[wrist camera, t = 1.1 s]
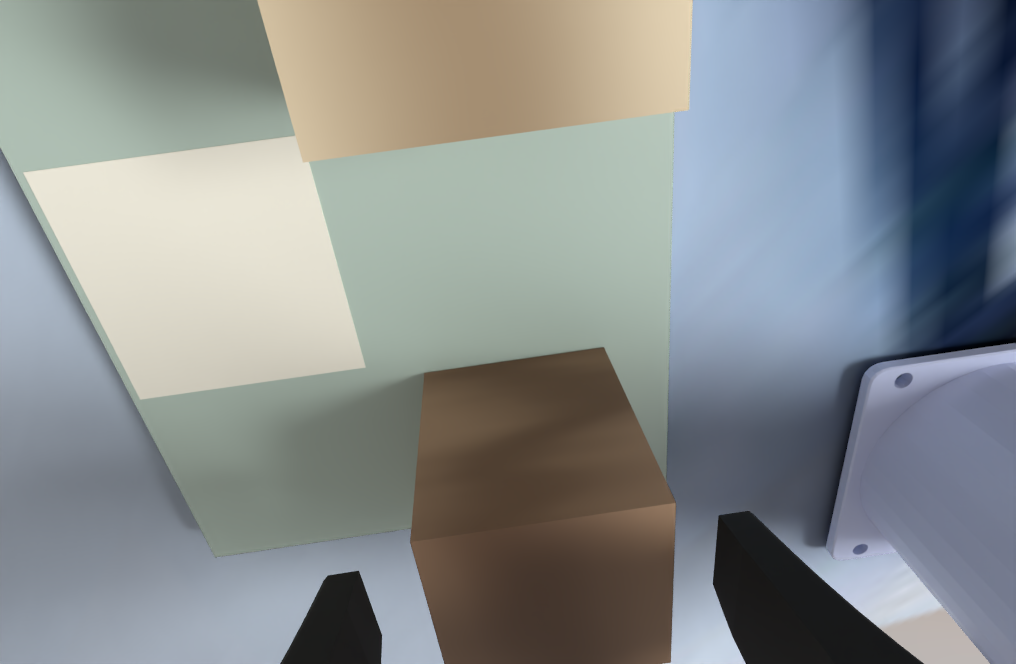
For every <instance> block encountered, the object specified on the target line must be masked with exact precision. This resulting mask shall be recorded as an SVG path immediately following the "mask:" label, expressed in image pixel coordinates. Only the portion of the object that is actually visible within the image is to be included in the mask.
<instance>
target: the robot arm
mask: <svg viewBox="0 0 1016 664" xmlns="http://www.w3.org/2000/svg"><path fill="white" fill-rule="evenodd" d="M901 374H902V375H901ZM900 375H901V377H899V378H898V379H897V380H896V378H897V377H898V376H900ZM826 549H827V551H828V552H829V553H830V555H831V556H832V557H833V559H836V560H850V559H856V558H863V557H869V556H876V555H883V554H889V553H896V552H897V553H898V554H899V555H900V556H901V557H902V559H903V560H904V561H905V562H906V563H907V565H908V566H909V567H910V568H911V569H912V571H913V572H914V573H915V574H916V575H917V577H918V578H919V579H920V580H921V581H922V583H923V584H924V585H925V586H926V587H927V589H928V590H929V591H930V592H931V593H932V594H933V596H934V597H935V598H936V599H937V600H938V602H939V603H940V604H941V605H942V606H943V608H944V609H945V610H946V611H947V612H948V614H949V615H950V616H951V617H952V618H953V619H954V621H955V622H956V623H957V624H958V626H959V627H960V628H961V629H962V630H963V631H964V633H965V634H966V635H967V636H968V637H969V639H970V640H971V641H972V642H973V643H974V645H975V646H976V647H977V648H978V649H979V650H980V652H981V653H982V654H983V655H984V656H985V658H986V659H987V660H988V661H989V663H990V664H1016V343H1011V344H1004V345H997V346H990V347H983V348H976V349H969V350H962V351H956V352H949V353H942V354H935V355H928V356H921V357H914V358H907V359H900V360H893V361H887V362H881V363H878V364H875V365H873V366H871V367H870V368H869V369H868V370H867V371H866V372H865V373H864V375H863V378H862V381H861V386H860V390H859V395H858V400H857V404H856V409H855V414H854V418H853V423H852V428H851V432H850V437H849V442H848V446H847V451H846V455H845V460H844V465H843V469H842V474H841V479H840V483H839V488H838V493H837V497H836V502H835V507H834V511H833V516H832V521H831V525H830V530H829V535H828V539H827V544H826ZM713 585H714V588H715V591H716V594H717V596H718V599H719V602H720V605H721V607H722V610H723V613H724V615H725V618H726V621H727V623H728V626H729V628H730V631H731V634H732V636H733V638H734V640H735V642H736V644H737V647H738V649H739V651H740V653H741V655H742V657H743V659H744V661H745V663H746V664H924V663H922V662H921V661H920V660H918V659H917V658H916V657H914V656H913V655H912V654H911V653H909V652H908V651H907V650H905V649H904V648H903V647H902V646H900V645H899V644H898V643H897V642H895V641H894V640H893V639H892V638H891V637H889V636H888V635H887V634H886V633H884V632H883V631H882V630H881V629H879V628H878V627H877V626H876V625H875V624H873V623H872V622H871V621H870V620H869V619H867V618H866V617H865V616H864V615H863V614H861V613H860V612H859V611H858V610H857V609H855V608H854V607H853V606H852V605H851V604H850V603H849V602H848V601H846V600H845V599H844V598H843V597H842V596H841V595H840V594H838V593H837V592H836V591H835V590H834V589H833V588H832V587H830V586H829V585H828V584H827V583H826V582H825V581H824V580H822V579H821V578H820V577H819V576H818V575H817V574H816V573H815V572H814V571H813V570H811V569H810V568H809V567H808V566H807V565H806V564H805V563H804V562H803V561H802V560H801V559H800V558H799V557H797V556H796V555H795V554H794V553H793V552H792V551H791V550H790V549H789V548H788V547H787V546H786V545H785V544H784V543H783V542H782V541H780V540H779V539H778V538H777V537H776V536H775V535H774V534H773V533H772V532H771V531H770V530H769V529H768V528H767V527H766V526H765V525H764V524H763V523H762V522H761V521H760V520H759V519H758V518H757V517H756V516H755V515H754V514H752V513H751V512H750V511H745V512H739V513H732V514H725V515H719V518H718V530H717V542H716V553H715V565H714V577H713ZM381 649H382V634H381V632H380V629H379V626H378V623H377V620H376V617H375V615H374V612H373V609H372V606H371V603H370V601H369V598H368V595H367V592H366V589H365V587H364V584H363V581H362V578H361V575H360V573H359V571H355V572H348V573H342V574H335V575H329V576H327V577H326V579H325V580H324V581H323V583H322V585H321V587H320V589H319V591H318V593H317V595H316V597H315V599H314V601H313V603H312V605H311V607H310V609H309V611H308V613H307V615H306V617H305V619H304V621H303V623H302V625H301V627H300V629H299V630H298V632H297V634H296V636H295V638H294V640H293V642H292V644H291V645H290V647H289V649H288V651H287V653H286V655H285V656H284V658H283V660H282V662H281V663H280V664H381Z"/></svg>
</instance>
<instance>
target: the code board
mask: <svg viewBox="0 0 1016 664" xmlns="http://www.w3.org/2000/svg"><path fill="white" fill-rule="evenodd" d="M0 148H1V150H2V152H3V154H4V156H5V158H6V159H7V161H8V163H9V165H10V167H11V169H12V171H13V173H14V175H15V177H16V178H17V180H18V182H19V184H20V186H21V188H22V190H23V192H24V194H25V196H26V198H27V199H28V201H29V203H30V205H31V207H32V209H33V211H34V213H35V215H36V217H37V219H38V220H39V222H40V224H41V226H42V228H43V230H44V232H45V234H46V236H47V238H48V240H49V241H50V243H51V245H52V247H53V249H54V251H55V253H56V255H57V257H58V259H59V260H60V262H61V264H62V266H63V268H64V270H65V272H66V274H67V276H68V278H69V280H70V281H71V283H72V285H73V287H74V289H75V291H76V293H77V295H78V297H79V299H80V301H81V302H82V304H83V306H84V308H85V310H86V312H87V314H88V316H89V318H90V320H91V322H92V323H93V325H94V327H95V329H96V331H97V333H98V335H99V337H100V339H101V341H102V342H103V344H104V346H105V348H106V350H107V352H108V354H109V356H110V358H111V360H112V362H113V363H114V365H115V367H116V369H117V371H118V373H119V375H120V377H121V379H122V381H123V383H124V384H125V386H126V388H127V390H128V392H129V394H130V396H131V398H132V400H133V402H134V404H135V405H136V407H137V409H138V411H139V413H140V415H141V417H142V419H143V421H144V423H145V424H146V426H147V428H148V430H149V432H150V434H151V436H152V438H153V440H154V442H155V444H156V445H157V447H158V449H159V451H160V453H161V455H162V457H163V459H164V461H165V463H166V465H167V466H168V468H169V470H170V472H171V474H172V476H173V478H174V480H175V482H176V484H177V486H178V487H179V489H180V491H181V493H182V495H183V497H184V499H185V501H186V503H187V505H188V506H189V508H190V510H191V512H192V514H193V516H194V518H195V520H196V522H197V524H198V526H199V527H200V529H201V531H202V533H203V535H204V537H205V539H206V541H207V543H208V545H209V547H210V548H211V550H212V552H213V554H214V556H215V557H222V556H229V555H235V554H242V553H249V552H256V551H262V550H269V549H276V548H283V547H289V546H296V545H303V544H310V543H316V542H323V541H330V540H337V539H343V538H350V537H357V536H364V535H370V534H377V533H384V532H391V531H397V530H404V529H411V527H412V515H413V503H414V491H415V479H416V467H417V455H418V443H419V431H420V419H421V407H422V395H423V383H424V373H428V372H435V371H442V370H449V369H456V368H463V367H470V366H477V365H484V364H491V363H498V362H505V361H512V360H519V359H526V358H533V357H539V356H546V355H553V354H560V353H567V352H574V351H581V350H588V349H595V348H602V347H604V348H605V351H606V353H607V355H608V357H609V359H610V361H611V364H612V366H613V368H614V370H615V372H616V374H617V376H618V379H619V381H620V383H621V385H622V387H623V389H624V392H625V394H626V396H627V398H628V400H629V402H630V405H631V407H632V409H633V411H634V413H635V415H636V418H637V420H638V422H639V424H640V426H641V428H642V431H643V433H644V435H645V437H646V439H647V441H648V443H649V446H650V448H651V450H652V452H653V454H654V456H655V459H656V461H657V463H658V465H659V467H660V469H661V472H662V474H663V476H664V478H665V480H666V475H667V429H668V383H669V337H670V291H671V245H672V199H673V153H674V112H671V113H664V114H656V115H649V116H642V117H634V118H627V119H620V120H612V121H605V122H598V123H590V124H583V125H576V126H568V127H561V128H554V129H546V130H539V131H532V132H524V133H517V134H510V135H502V136H495V137H487V138H480V139H473V140H465V141H458V142H451V143H443V144H436V145H429V146H421V147H414V148H407V149H399V150H392V151H385V152H377V153H370V154H363V155H355V156H348V157H341V158H333V159H326V160H319V161H311V162H304V163H303V161H302V157H301V154H300V150H299V147H298V143H297V139H296V136H295V132H294V129H293V125H292V122H291V118H290V115H289V111H288V108H287V104H286V100H285V97H284V93H283V90H282V86H281V83H280V79H279V76H278V72H277V69H276V65H275V62H274V58H273V54H272V51H271V47H270V44H269V40H268V37H267V33H266V30H265V26H264V23H263V19H262V15H261V12H260V8H259V5H258V1H257V0H0Z"/></svg>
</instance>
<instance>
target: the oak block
mask: <svg viewBox="0 0 1016 664" xmlns="http://www.w3.org/2000/svg"><path fill="white" fill-rule="evenodd" d="M257 1H258V5H259V8H260V12H261V15H262V19H263V23H264V26H265V30H266V33H267V37H268V40H269V44H270V47H271V51H272V54H273V58H274V62H275V65H276V69H277V72H278V76H279V79H280V83H281V86H282V90H283V93H284V97H285V100H286V104H287V108H288V111H289V115H290V118H291V122H292V125H293V129H294V132H295V136H296V139H297V143H298V147H299V150H300V154H301V157H302V161H303V163H304V162H311V161H319V160H326V159H333V158H341V157H348V156H355V155H363V154H370V153H377V152H385V151H392V150H399V149H407V148H414V147H421V146H429V145H436V144H443V143H451V142H458V141H465V140H473V139H480V138H487V137H495V136H502V135H510V134H517V133H524V132H532V131H539V130H546V129H554V128H561V127H568V126H576V125H583V124H590V123H598V122H605V121H612V120H620V119H627V118H634V117H642V116H649V115H656V114H664V113H671V112H678V111H686V110H689V93H690V63H691V33H692V3H693V0H257Z"/></svg>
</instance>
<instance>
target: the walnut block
mask: <svg viewBox="0 0 1016 664" xmlns="http://www.w3.org/2000/svg"><path fill="white" fill-rule="evenodd" d="M675 516H676V502H675V500H674V498H673V495H672V493H671V491H670V489H669V487H668V485H667V482H666V480H665V478H664V476H663V474H662V472H661V469H660V467H659V465H658V463H657V461H656V459H655V456H654V454H653V452H652V450H651V448H650V446H649V443H648V441H647V439H646V437H645V435H644V433H643V431H642V428H641V426H640V424H639V422H638V420H637V418H636V415H635V413H634V411H633V409H632V407H631V405H630V402H629V400H628V398H627V396H626V394H625V392H624V389H623V387H622V385H621V383H620V381H619V379H618V376H617V374H616V372H615V370H614V368H613V366H612V364H611V361H610V359H609V357H608V355H607V353H606V351H605V348H604V347H602V348H595V349H588V350H581V351H574V352H567V353H560V354H553V355H546V356H539V357H533V358H526V359H519V360H512V361H505V362H498V363H491V364H484V365H477V366H470V367H463V368H456V369H449V370H442V371H435V372H428V373H424V383H423V395H422V407H421V419H420V431H419V443H418V455H417V467H416V479H415V491H414V503H413V515H412V527H411V539H410V543H411V547H412V550H413V554H414V557H415V561H416V565H417V568H418V572H419V575H420V579H421V582H422V586H423V589H424V593H425V596H426V600H427V604H428V607H429V611H430V614H431V618H432V621H433V625H434V628H435V632H436V635H437V639H438V643H439V646H440V650H441V653H442V657H443V660H444V664H663V663H670V662H671V636H672V606H673V576H674V546H675Z"/></svg>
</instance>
